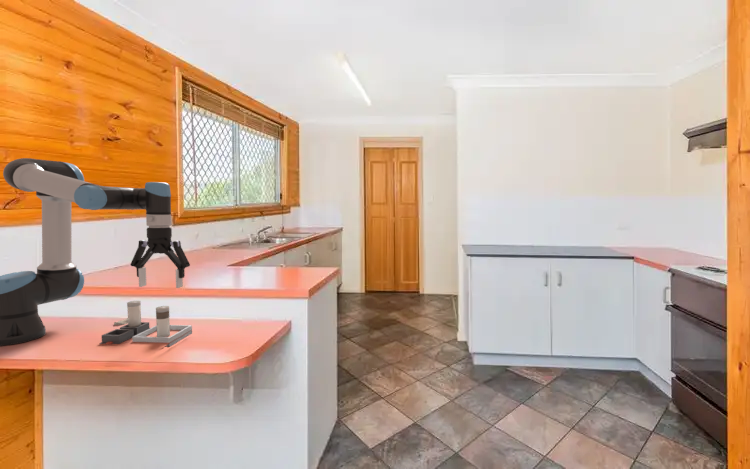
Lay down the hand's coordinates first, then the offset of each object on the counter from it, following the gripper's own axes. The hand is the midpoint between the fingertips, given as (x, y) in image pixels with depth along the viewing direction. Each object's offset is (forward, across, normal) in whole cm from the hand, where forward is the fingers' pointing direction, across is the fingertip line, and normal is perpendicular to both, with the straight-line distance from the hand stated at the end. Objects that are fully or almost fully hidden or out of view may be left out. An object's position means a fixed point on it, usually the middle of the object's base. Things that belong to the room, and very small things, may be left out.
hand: (161, 286), depth 127 cm
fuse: (+18, -12, +3) cm, 22 cm away
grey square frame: (+19, 0, 0) cm, 19 cm away
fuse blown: (+18, 0, 0) cm, 19 cm away
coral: (+20, -25, +15) cm, 35 cm away
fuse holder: (+19, -12, -1) cm, 23 cm away
